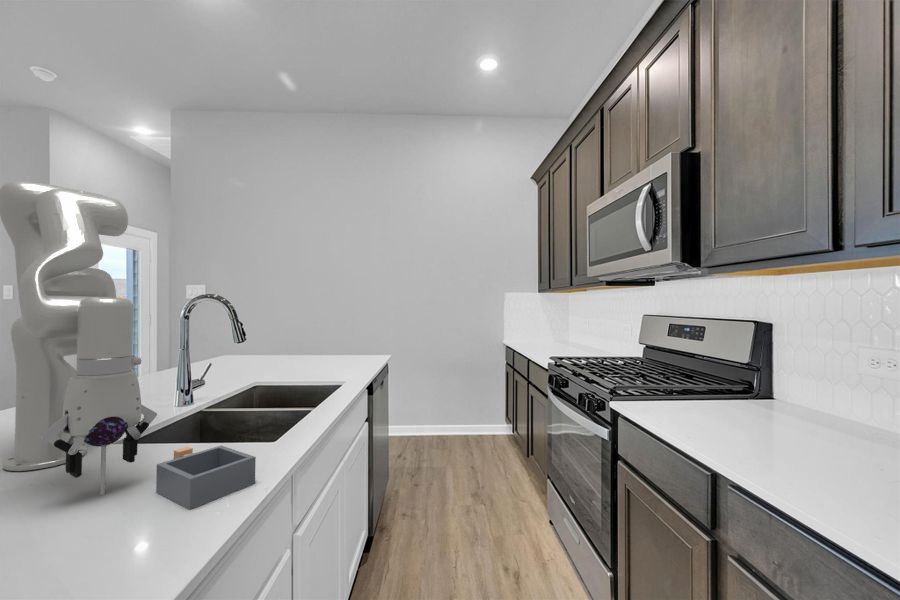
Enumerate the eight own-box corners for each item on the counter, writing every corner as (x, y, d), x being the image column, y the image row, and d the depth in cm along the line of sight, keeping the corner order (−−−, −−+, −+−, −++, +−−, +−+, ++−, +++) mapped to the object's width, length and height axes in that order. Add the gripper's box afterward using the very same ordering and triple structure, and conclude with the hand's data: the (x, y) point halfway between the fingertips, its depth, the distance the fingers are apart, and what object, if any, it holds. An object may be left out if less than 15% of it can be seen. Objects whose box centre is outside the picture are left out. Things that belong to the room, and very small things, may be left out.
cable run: (171, 457, 88) (171, 447, 88) (191, 453, 90) (191, 443, 90) (186, 481, 76) (186, 470, 76) (209, 476, 79) (209, 464, 79)
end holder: (156, 492, 72) (156, 464, 72) (220, 470, 81) (221, 445, 81) (189, 509, 66) (190, 479, 66) (255, 483, 75) (255, 456, 76)
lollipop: (122, 481, 76) (123, 402, 76) (131, 492, 71) (133, 408, 71) (72, 494, 70) (74, 409, 70) (80, 507, 66) (82, 416, 66)
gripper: (151, 360, 80) (149, 449, 80) (29, 371, 66) (26, 481, 65) (170, 363, 77) (168, 456, 76) (44, 376, 62) (42, 492, 61)
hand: (103, 467), depth 71 cm, fingers open, 6 cm apart
